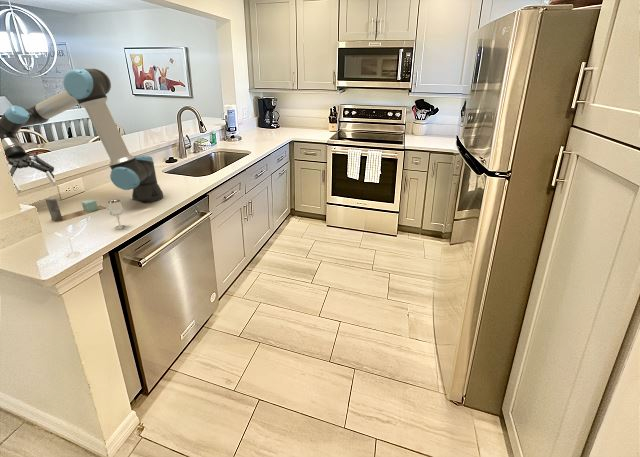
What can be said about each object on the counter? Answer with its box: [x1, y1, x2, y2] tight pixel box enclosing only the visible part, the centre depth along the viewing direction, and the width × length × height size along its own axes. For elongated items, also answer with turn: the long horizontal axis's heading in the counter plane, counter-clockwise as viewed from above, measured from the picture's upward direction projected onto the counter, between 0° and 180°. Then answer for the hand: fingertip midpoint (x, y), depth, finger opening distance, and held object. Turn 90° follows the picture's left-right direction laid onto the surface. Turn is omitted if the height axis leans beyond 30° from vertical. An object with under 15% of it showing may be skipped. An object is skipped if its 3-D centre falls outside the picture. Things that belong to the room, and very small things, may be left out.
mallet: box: [45, 197, 107, 223], centre depth 165 cm, size 22×7×11 cm, turn 146°
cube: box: [81, 198, 98, 214], centre depth 169 cm, size 4×4×4 cm
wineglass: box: [106, 199, 127, 230], centre depth 152 cm, size 6×6×12 cm
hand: (37, 187), depth 159 cm, fingers open, 13 cm apart
